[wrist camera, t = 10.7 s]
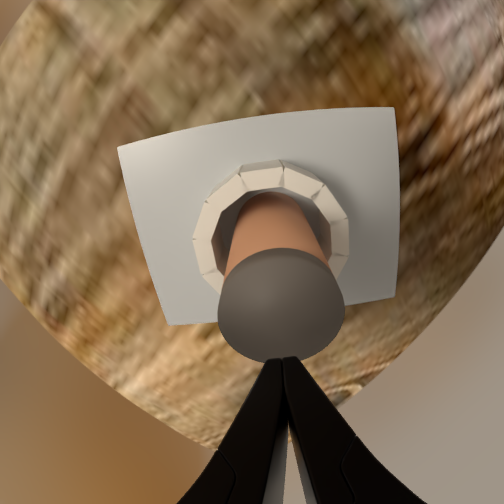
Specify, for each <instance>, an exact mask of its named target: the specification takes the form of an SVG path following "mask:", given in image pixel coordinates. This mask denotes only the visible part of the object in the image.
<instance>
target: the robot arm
mask: <svg viewBox="0 0 504 504" xmlns="http://www.w3.org/2000/svg"><path fill="white" fill-rule="evenodd" d="M288 423H289V429H290V435H291V439H292V443H293V447H294V452H295V456H296V460H297V464H298V469H299V473H300V478H301V482H302V486H303V491H304V495H305V499H306V503H307V504H427V503H426V502H424V501H423V500H421V499H420V498H419V497H418V496H416V495H415V494H414V493H413V492H412V491H411V490H409V489H408V488H407V487H406V486H405V485H404V484H403V483H401V482H400V481H399V480H398V479H397V478H396V477H395V476H394V475H393V474H392V473H390V472H389V471H388V470H387V469H386V468H385V467H384V466H383V465H382V464H381V463H380V462H379V461H378V460H377V459H376V458H375V457H374V455H373V454H372V453H371V452H370V451H369V450H368V448H366V446H365V445H364V444H363V442H362V441H361V440H360V439H359V437H358V436H356V434H355V433H354V431H353V430H352V428H351V427H350V426H349V425H348V423H347V422H346V421H345V419H344V418H343V417H342V416H341V414H340V413H339V412H338V410H337V409H336V408H335V406H334V405H333V404H332V402H331V401H330V400H329V399H328V397H327V396H326V395H325V393H324V392H323V391H322V389H321V388H320V387H319V385H318V384H317V383H316V381H315V380H314V379H313V377H312V376H311V375H310V373H309V372H308V371H307V369H306V368H305V367H304V365H303V364H302V363H301V361H300V360H299V359H298V357H296V356H289V357H283V358H282V359H281V358H272V359H267V360H266V362H265V364H264V366H263V368H262V369H261V371H260V373H259V375H258V377H257V379H256V381H255V383H254V384H253V386H252V388H251V390H250V392H249V394H248V396H247V397H246V399H245V401H244V403H243V405H242V406H241V408H240V410H239V412H238V414H237V415H236V417H235V419H234V421H233V422H232V424H231V426H230V428H229V429H228V431H227V433H226V435H225V436H224V438H223V440H222V441H221V443H220V445H219V447H218V450H216V451H215V453H214V455H213V457H212V458H211V460H210V462H209V463H208V464H207V466H206V467H205V469H204V470H203V472H202V473H201V475H200V476H199V477H198V479H197V480H196V481H195V483H194V484H193V485H192V486H191V488H190V489H189V490H188V491H187V492H186V493H185V495H184V496H183V497H182V498H181V499H180V500H179V501H178V503H177V504H283V495H284V483H285V471H286V458H287V444H288Z"/></svg>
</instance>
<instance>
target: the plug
mask: <svg viewBox="0 0 504 504" xmlns="http://www.w3.org/2000/svg"><path fill="white" fill-rule="evenodd" d="M344 314H345V304H344V299H343V295H342V293H341V290H340V288H339V286H338V284H337V282H336V279H335V277H334V275H333V273H332V271H331V269H330V266H329V264H328V262H327V260H326V258H325V256H324V254H323V252H322V250H321V248H320V246H319V243H318V241H317V239H316V237H315V235H314V233H313V231H312V229H311V227H310V225H309V223H308V221H307V219H306V217H305V215H304V213H303V211H302V209H301V208H300V206H299V205H298V203H297V202H296V201H295V200H293V199H292V198H291V197H289V196H288V195H285V194H283V193H280V192H272V191H270V192H263V193H259V194H257V195H255V196H253V197H251V198H250V199H249V200H247V201H246V202H245V204H244V205H243V206H242V208H241V209H240V211H239V214H238V217H237V221H236V226H235V230H234V235H233V239H232V244H231V248H230V253H229V257H228V262H227V267H226V271H225V276H224V281H223V285H222V290H221V295H220V300H219V304H218V311H217V319H218V325H219V328H220V331H221V333H222V335H223V337H224V338H225V340H226V341H227V342H228V344H229V345H230V346H231V347H232V348H233V349H235V350H236V351H237V352H238V353H240V354H242V355H243V356H245V357H247V358H250V359H252V360H255V361H258V362H263V363H265V362H266V360H267V359H272V358H281V359H282V358H283V357H289V356H296V357H298V359H299V360H300V361H301V360H304V359H307V358H309V357H311V356H313V355H315V354H317V353H318V352H320V351H321V350H323V349H324V348H325V347H326V346H328V345H329V344H330V343H331V341H332V340H333V339H334V338H335V337H336V335H337V334H338V332H339V330H340V328H341V326H342V323H343V319H344Z"/></svg>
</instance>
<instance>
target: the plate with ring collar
mask: <svg viewBox="0 0 504 504" xmlns="http://www.w3.org/2000/svg"><path fill="white" fill-rule="evenodd" d="M117 149H118V154H119V159H120V163H121V168H122V172H123V177H124V181H125V185H126V190H127V194H128V198H129V202H130V205H131V209H132V213H133V217H134V221H135V224H136V228H137V231H138V235H139V238H140V242H141V245H142V248H143V252H144V255H145V258H146V262H147V265H148V268H149V271H150V274H151V277H152V280H153V283H154V286H155V289H156V292H157V295H158V298H159V301H160V304H161V306H162V309H163V312H164V315H165V318H166V320H167V323H168V326H170V325H184V324H198V323H210V322H218V319H217V311H218V304H219V300H220V295H221V290H222V285H223V281H224V276H225V271H226V267H227V262H228V257H229V253H230V248H231V244H232V239H233V235H234V230H235V226H236V221H237V217H238V214H239V211H240V209H241V208H242V206H243V205H244V204H245V202H246V201H247V200H249V199H250V198H251V197H253V196H255V195H257V194H259V193H263V192H270V191H272V192H280V193H283V194H285V195H288V196H289V197H291V198H292V199H293V200H295V201H296V202H297V203H298V205H299V206H300V208H301V209H302V211H303V213H304V215H305V217H306V219H307V221H308V223H309V225H310V227H311V229H312V231H313V233H314V235H315V237H316V239H317V241H318V243H319V246H320V248H321V250H322V252H323V254H324V256H325V258H326V260H327V262H328V264H329V266H330V269H331V271H332V273H333V275H334V277H335V279H336V282H337V284H338V286H339V288H340V290H341V293H342V295H343V299H344V304H345V306H347V305H353V304H359V303H365V302H370V301H376V300H381V299H387V298H392V297H395V291H396V281H397V269H398V253H399V229H400V181H399V158H398V143H397V131H396V120H395V111H394V107H364V108H337V109H321V110H308V111H297V112H288V113H279V114H271V115H263V116H256V117H249V118H243V119H236V120H230V121H225V122H219V123H214V124H209V125H204V126H199V127H194V128H189V129H185V130H180V131H176V132H172V133H168V134H164V135H160V136H156V137H152V138H148V139H144V140H141V141H137V142H133V143H130V144H127V145H123V146H120V147H117Z"/></svg>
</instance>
